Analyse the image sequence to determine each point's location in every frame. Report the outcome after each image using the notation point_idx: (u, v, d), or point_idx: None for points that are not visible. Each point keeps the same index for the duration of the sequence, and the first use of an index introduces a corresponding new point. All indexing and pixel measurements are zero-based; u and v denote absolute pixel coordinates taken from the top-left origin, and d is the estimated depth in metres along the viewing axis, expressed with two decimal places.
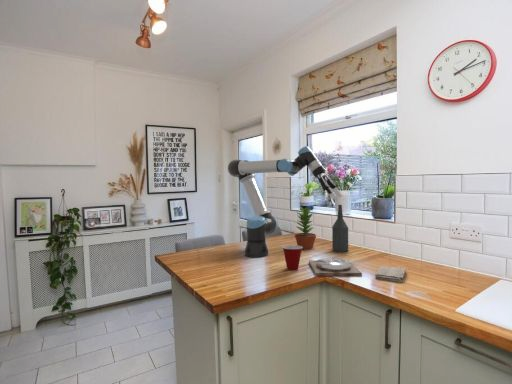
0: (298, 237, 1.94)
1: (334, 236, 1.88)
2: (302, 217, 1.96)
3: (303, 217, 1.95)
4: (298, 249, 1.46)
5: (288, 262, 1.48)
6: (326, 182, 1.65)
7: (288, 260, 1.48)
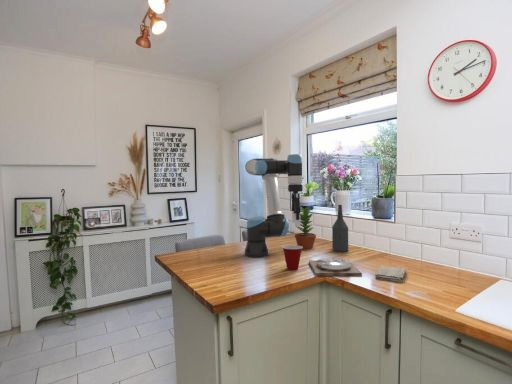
0: (298, 237, 1.94)
1: (334, 236, 1.88)
2: (302, 217, 1.96)
3: (303, 217, 1.95)
4: (298, 249, 1.46)
5: (288, 262, 1.48)
6: None
7: (288, 260, 1.48)
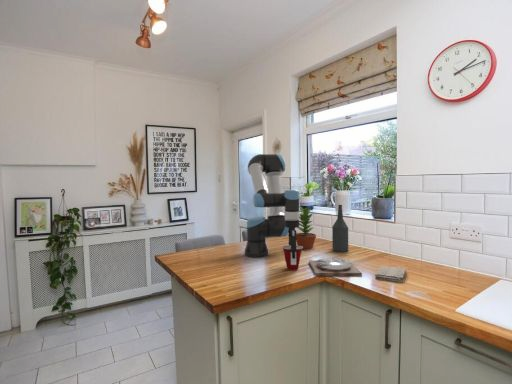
0: (298, 237, 1.94)
1: (334, 236, 1.88)
2: (302, 217, 1.96)
3: (303, 217, 1.95)
4: (298, 249, 1.46)
5: (288, 262, 1.48)
6: None
7: (288, 260, 1.48)
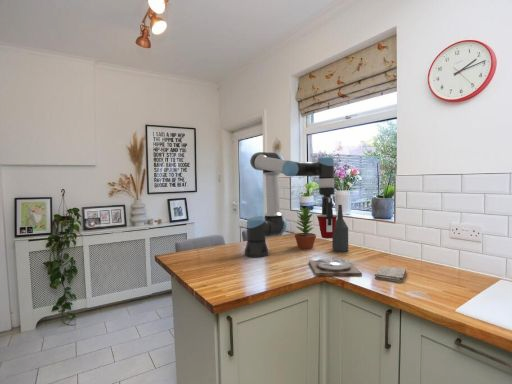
0: (298, 237, 1.94)
1: (334, 236, 1.88)
2: (302, 217, 1.96)
3: (303, 217, 1.95)
4: (334, 216, 1.44)
5: (323, 230, 1.46)
6: None
7: (323, 228, 1.45)
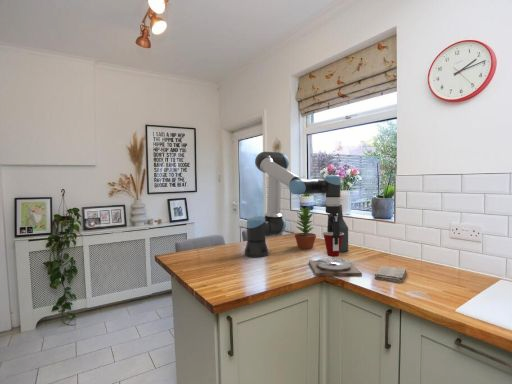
0: (298, 237, 1.94)
1: None
2: (302, 217, 1.96)
3: (303, 217, 1.95)
4: (340, 235, 1.44)
5: (329, 248, 1.46)
6: None
7: (330, 246, 1.46)
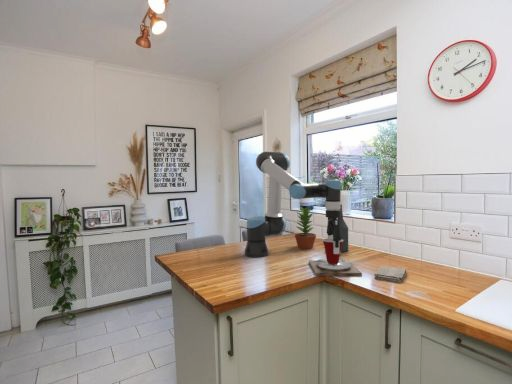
0: (298, 237, 1.94)
1: None
2: (302, 217, 1.96)
3: (303, 217, 1.95)
4: (340, 242, 1.45)
5: (329, 255, 1.47)
6: None
7: (329, 253, 1.47)
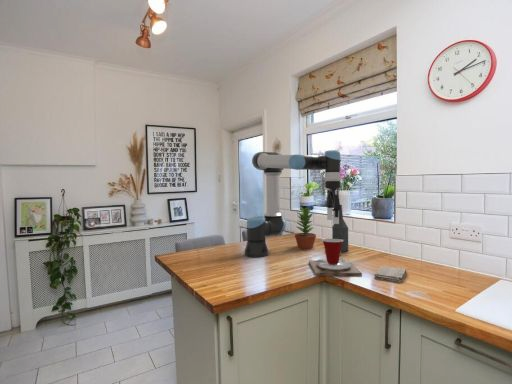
0: (298, 237, 1.94)
1: (334, 236, 1.88)
2: (302, 217, 1.96)
3: (303, 217, 1.95)
4: (340, 242, 1.45)
5: (329, 255, 1.47)
6: None
7: (329, 253, 1.47)
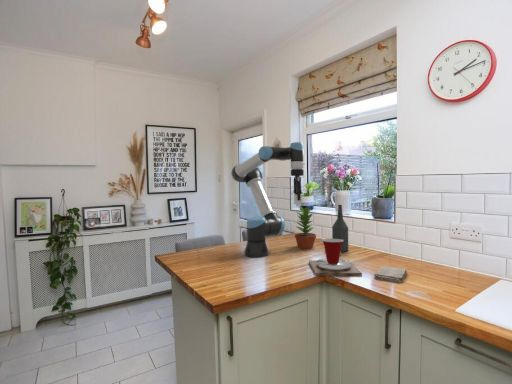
0: (298, 237, 1.94)
1: (334, 236, 1.88)
2: (302, 217, 1.96)
3: (303, 217, 1.95)
4: (340, 242, 1.45)
5: (329, 255, 1.47)
6: None
7: (329, 253, 1.47)
